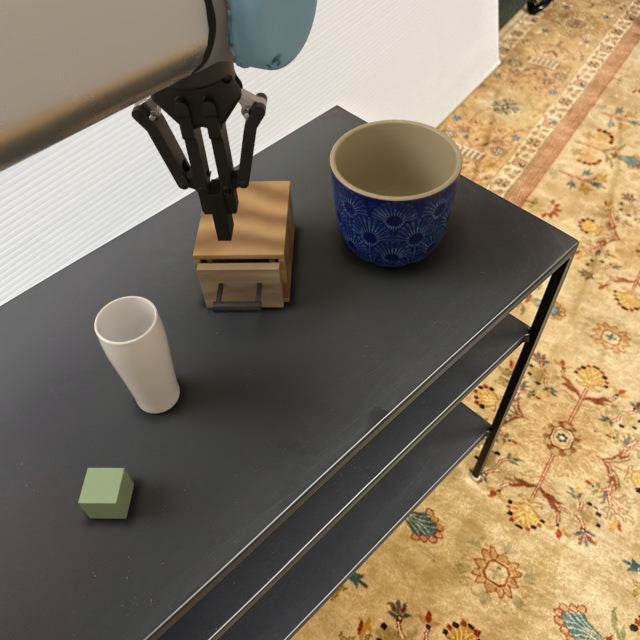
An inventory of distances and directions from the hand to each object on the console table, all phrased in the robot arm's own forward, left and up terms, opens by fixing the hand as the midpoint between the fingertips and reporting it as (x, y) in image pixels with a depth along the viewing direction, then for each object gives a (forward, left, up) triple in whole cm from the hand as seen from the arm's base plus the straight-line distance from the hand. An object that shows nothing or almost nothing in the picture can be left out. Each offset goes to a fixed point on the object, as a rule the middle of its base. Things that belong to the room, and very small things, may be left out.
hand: (226, 232), depth 73 cm
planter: (+20, +15, -16) cm, 30 cm away
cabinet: (0, +11, -16) cm, 20 cm away
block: (-12, -25, -16) cm, 32 cm away
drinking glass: (-9, -12, -17) cm, 22 cm away
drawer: (0, +6, -15) cm, 17 cm away
